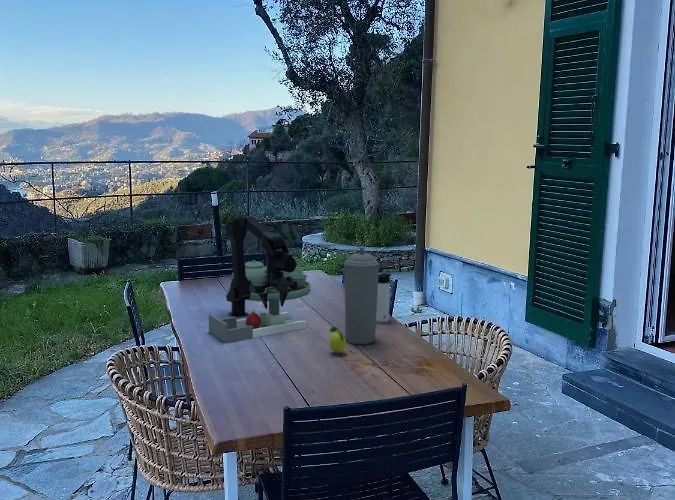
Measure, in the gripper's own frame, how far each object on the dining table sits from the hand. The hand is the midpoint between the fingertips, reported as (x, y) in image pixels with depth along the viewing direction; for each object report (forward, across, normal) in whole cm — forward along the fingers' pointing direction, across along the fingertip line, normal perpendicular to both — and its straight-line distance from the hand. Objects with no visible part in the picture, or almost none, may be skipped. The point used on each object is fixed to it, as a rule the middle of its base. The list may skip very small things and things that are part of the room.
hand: (274, 307), depth 234 cm
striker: (+8, +2, 0) cm, 8 cm away
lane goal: (+8, -7, 0) cm, 11 cm away
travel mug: (+8, +41, -16) cm, 45 cm away
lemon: (+8, +4, -38) cm, 39 cm away
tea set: (+9, +27, +55) cm, 62 cm away
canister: (+8, +19, -31) cm, 37 cm away
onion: (+8, -9, 0) cm, 12 cm away
